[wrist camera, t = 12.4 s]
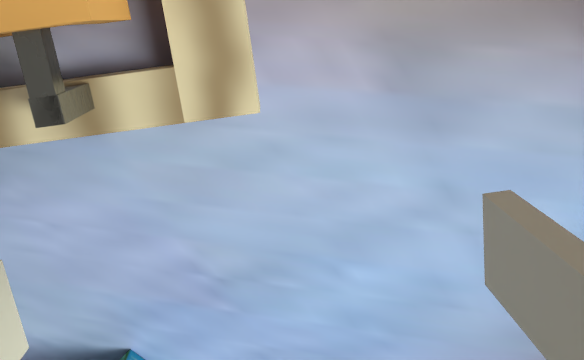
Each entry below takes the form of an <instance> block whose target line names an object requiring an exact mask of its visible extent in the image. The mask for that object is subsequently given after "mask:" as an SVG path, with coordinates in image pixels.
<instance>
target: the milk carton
mask: <svg viewBox="0 0 584 360" xmlns="http://www.w3.org/2000/svg"><path fill="white" fill-rule="evenodd" d="M120 360H144V359H143V358H142V357H140V356H139V355H138V354H136V353H135V352H133V351H132V350H131V349H130V350H129V351H128V352H127V353H126V354H125V355H124V356H123V357H122V358H121V359H120Z"/></svg>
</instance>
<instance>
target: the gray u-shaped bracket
mask: <svg viewBox="0 0 584 360" xmlns="http://www.w3.org/2000/svg"><path fill="white" fill-rule="evenodd" d="M12 35H13V39H14V43H15V47H16V50H17V54H18V58H19V61H20V65H21V69H22V72H23V76H24V80H25V84H26V87H27V91H28V95H29V99H28V101H29V105H30V108H31V112H32V116H33V120H34V123H35V127H36V128H41V127H48V126H56V125H63V124H67V123H68V122H70V121H72V120H74V119H76V118H78V117H80V116H81V115H83V114H85V113H87V112H89V111H91V110H93V109H95V107H94V102H93V98H92V94H91V90H90V85H89V83H86V84H78V85H71V86H64V83H63V79H62V75H61V71H60V67H59V63H58V59H57V55H56V51H55V47H54V43H53V39H52V35H51V31H50V27H49V28H42V29H34V30H27V31H19V32H12Z"/></svg>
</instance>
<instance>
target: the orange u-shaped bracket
mask: <svg viewBox="0 0 584 360" xmlns="http://www.w3.org/2000/svg"><path fill="white" fill-rule="evenodd" d="M124 20H131V17H130V12H129V7H128V2H127V0H0V37H5V36H12V32H19V31H27V30H34V29H42V28H49V27H57V26H64V25H76V24H101V23H109V22H117V21H124Z"/></svg>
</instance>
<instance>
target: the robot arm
mask: <svg viewBox="0 0 584 360" xmlns="http://www.w3.org/2000/svg"><path fill="white" fill-rule="evenodd" d="M483 230H484V268H485V285H486V286H487V288H488V289H489V290H490V291H491V292H492V294H493V295H494V296H495V297H496V299H497V300H498V301H499V302H500V303H501V305H502V306H503V307H504V308H505V310H506V311H507V312H508V313H509V314H510V316H511V317H512V318H513V319H514V320H515V322H516V323H517V324H518V325H519V327H520V328H521V329H522V330H523V331H524V333H525V334H526V335H527V336H528V338H529V339H530V340H531V341H532V342H533V344H534V345H535V346H536V347H537V349H538V350H539V351H540V352H541V353H542V355H543V356H544V357H545V358H546V359H547V360H584V242H583V241H582V240H580V239H579V238H577V237H576V236H575V235H573V234H572V233H570V232H569V231H568V230H566V229H565V228H563V227H562V226H561V225H559V224H558V223H556V222H555V221H553V220H552V219H551V218H549V217H548V216H546V215H545V214H544V213H542V212H541V211H539V210H538V209H536V208H535V207H534V206H532V205H531V204H529V203H528V202H527V201H525V200H524V199H522V198H521V197H520V196H518V195H517V194H515V193H514V192H512V191H511V190H507V191H500V192H493V193H485V194H483ZM28 348H29V346H28V343H27V339H26V336H25V333H24V330H23V327H22V323H21V320H20V317H19V314H18V311H17V307H16V304H15V301H14V298H13V295H12V291H11V288H10V285H9V282H8V279H7V275H6V272H5V269H4V266H3V263H2V260H0V360H20V359H21V358H22V357H23V355H24V354H25V352H26V351H27V350H28Z"/></svg>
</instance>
